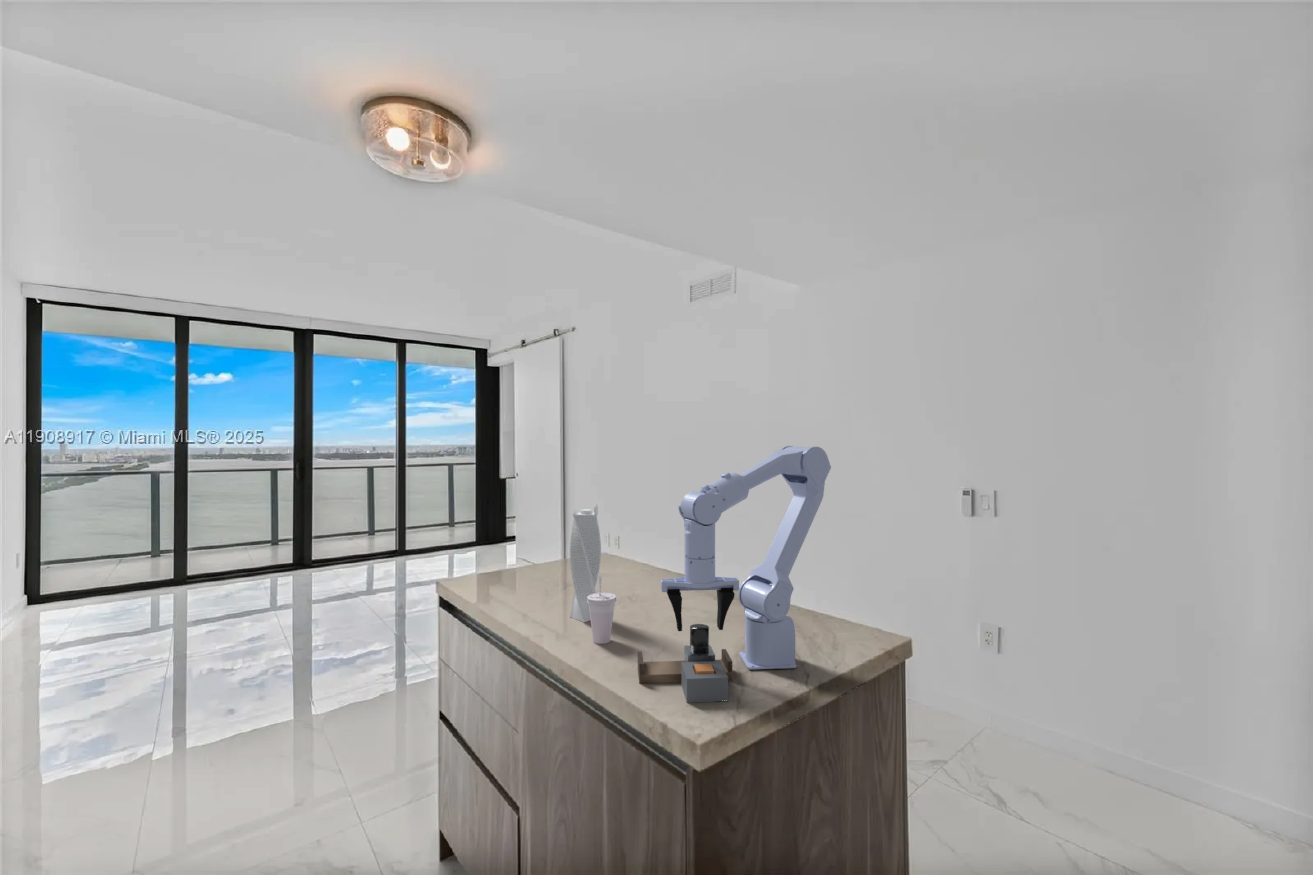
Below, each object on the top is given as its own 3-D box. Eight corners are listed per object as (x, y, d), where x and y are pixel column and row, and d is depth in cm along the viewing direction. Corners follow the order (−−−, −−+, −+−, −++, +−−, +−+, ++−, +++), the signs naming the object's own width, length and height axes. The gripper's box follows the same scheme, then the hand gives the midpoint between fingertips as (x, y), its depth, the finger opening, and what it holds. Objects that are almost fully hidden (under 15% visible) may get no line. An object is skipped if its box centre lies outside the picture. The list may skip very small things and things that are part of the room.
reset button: (710, 684, 101) (711, 663, 101) (714, 691, 98) (714, 670, 98) (694, 684, 101) (694, 664, 101) (696, 692, 98) (696, 671, 98)
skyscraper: (608, 617, 140) (608, 503, 140) (584, 625, 134) (584, 506, 134) (587, 611, 145) (587, 500, 145) (563, 617, 140) (564, 503, 140)
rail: (725, 667, 110) (725, 649, 110) (732, 680, 104) (732, 661, 104) (637, 669, 109) (637, 651, 109) (639, 683, 103) (639, 664, 103)
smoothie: (601, 633, 129) (601, 571, 129) (622, 640, 125) (622, 576, 124) (580, 641, 124) (580, 576, 124) (601, 648, 120) (601, 581, 120)
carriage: (710, 659, 109) (710, 622, 109) (715, 670, 104) (715, 631, 104) (684, 660, 109) (684, 622, 109) (687, 671, 104) (688, 631, 104)
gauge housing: (719, 683, 103) (719, 661, 103) (728, 701, 96) (728, 677, 96) (681, 684, 102) (681, 662, 102) (686, 702, 95) (686, 678, 95)
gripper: (733, 551, 111) (733, 620, 111) (659, 552, 110) (659, 622, 110) (741, 559, 104) (741, 633, 104) (662, 560, 103) (662, 635, 103)
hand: (699, 628), depth 107 cm, fingers open, 7 cm apart
